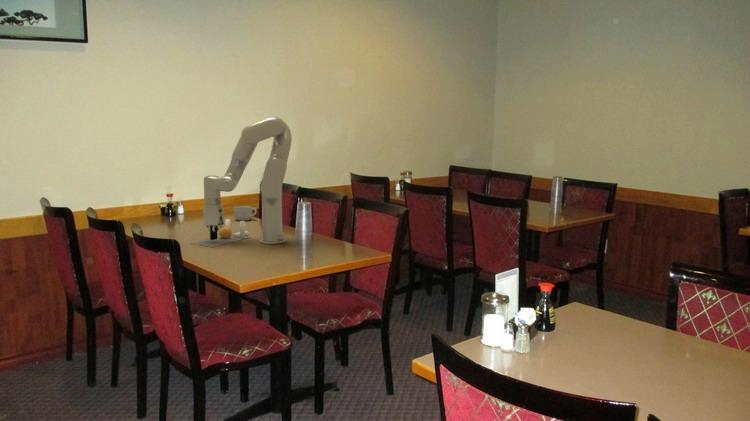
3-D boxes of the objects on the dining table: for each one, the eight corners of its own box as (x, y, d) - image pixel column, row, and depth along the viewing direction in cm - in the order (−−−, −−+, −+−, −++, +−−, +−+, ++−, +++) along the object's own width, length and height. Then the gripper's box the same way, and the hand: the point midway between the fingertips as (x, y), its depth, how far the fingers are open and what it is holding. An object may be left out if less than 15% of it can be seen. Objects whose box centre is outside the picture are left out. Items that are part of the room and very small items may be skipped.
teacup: (230, 220, 339) (229, 207, 338) (242, 217, 349) (242, 204, 347) (248, 223, 333) (248, 209, 331) (261, 220, 342) (260, 206, 341)
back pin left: (246, 238, 293) (245, 221, 291) (242, 239, 291) (242, 222, 289) (242, 237, 294) (242, 220, 292) (239, 238, 292) (238, 221, 290)
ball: (228, 223, 290) (224, 232, 286) (235, 230, 294) (231, 240, 290) (218, 224, 292) (215, 234, 288) (225, 232, 296) (221, 241, 292)
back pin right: (231, 235, 298) (231, 219, 296) (228, 236, 296) (227, 220, 294) (228, 235, 299) (227, 218, 297) (224, 236, 297) (224, 219, 295)
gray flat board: (250, 237, 294) (250, 237, 294) (212, 247, 272) (212, 246, 272) (230, 234, 301) (230, 234, 301) (190, 243, 279) (190, 243, 279)
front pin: (235, 238, 293) (246, 235, 301) (237, 236, 292) (249, 233, 300) (232, 234, 294) (244, 232, 301) (235, 232, 293) (246, 229, 300)
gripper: (229, 202, 279) (230, 239, 282) (207, 199, 286) (208, 236, 289) (218, 204, 272) (219, 242, 275) (195, 201, 280) (196, 238, 283)
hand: (213, 239), depth 282 cm, fingers closed
